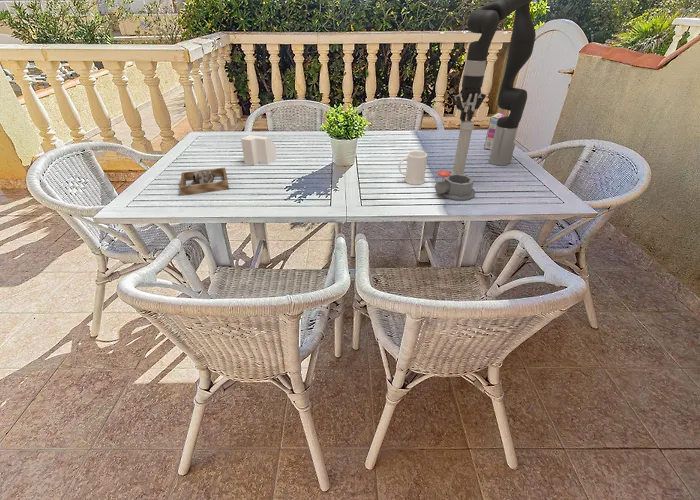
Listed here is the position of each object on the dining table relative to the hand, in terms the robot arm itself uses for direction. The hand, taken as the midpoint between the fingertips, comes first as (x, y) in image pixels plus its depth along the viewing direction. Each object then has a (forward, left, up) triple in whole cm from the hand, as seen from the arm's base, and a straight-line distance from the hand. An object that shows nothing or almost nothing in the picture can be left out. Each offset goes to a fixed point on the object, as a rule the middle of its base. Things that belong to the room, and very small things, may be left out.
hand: (465, 120), depth 147 cm
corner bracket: (+78, -49, -25) cm, 95 cm away
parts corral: (+104, -29, -25) cm, 111 cm away
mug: (+20, -4, -25) cm, 32 cm away
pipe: (0, 0, -25) cm, 25 cm away
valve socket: (+9, +13, -25) cm, 29 cm away
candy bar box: (-41, -30, -25) cm, 57 cm away
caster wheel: (+105, -30, -25) cm, 112 cm away
